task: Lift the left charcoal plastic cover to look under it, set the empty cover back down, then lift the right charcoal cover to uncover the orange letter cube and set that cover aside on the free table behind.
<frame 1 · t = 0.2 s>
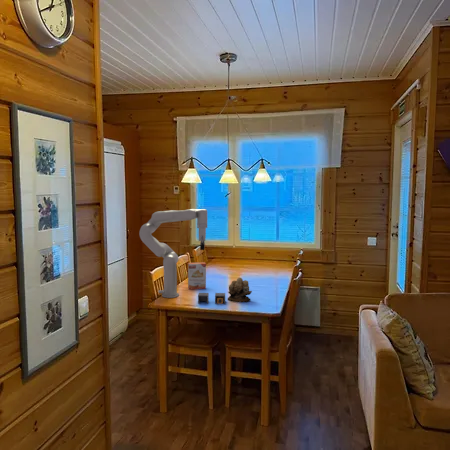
hand: (202, 248, 304), 36 cm above the table, tool pointing down, fingers open, 9 cm apart
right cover: (220, 302, 292), on the table
brown stone statue: (239, 300, 299), on the table
left cover: (203, 302, 292), on the table
letter cube: (220, 302, 292), on the table
cracker box: (197, 288, 331), on the table
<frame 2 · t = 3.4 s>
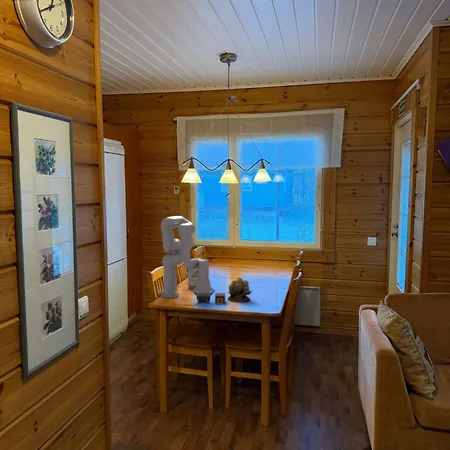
hand: (203, 301, 292), 1 cm above the table, tool pointing down, fingers closed on left cover, 7 cm apart
left cover: (203, 302, 292), on the table, touching gripper
everything else where it was.
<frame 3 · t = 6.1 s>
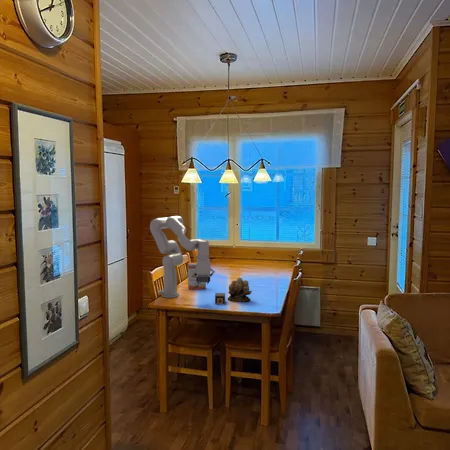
hand: (203, 282, 291), 15 cm above the table, tool pointing down, fingers closed on left cover, 7 cm apart
left cover: (203, 283, 291), point 14 cm above the table, touching gripper
everything else where it was.
when the fingers open (2 cm above the table, at t = 8.9 s): left cover drops 1 cm, on the table.
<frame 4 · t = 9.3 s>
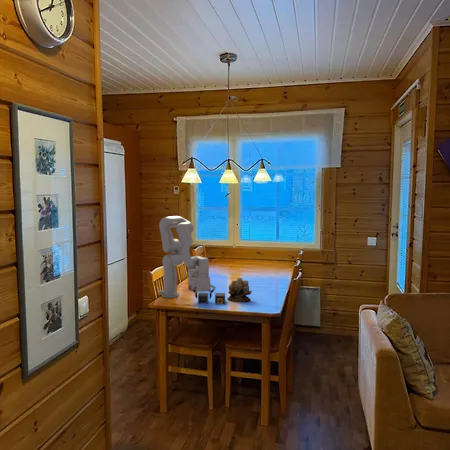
hand: (203, 298, 292), 3 cm above the table, tool pointing down, fingers open, 9 cm apart
left cover: (203, 302, 292), on the table
everything else where it was.
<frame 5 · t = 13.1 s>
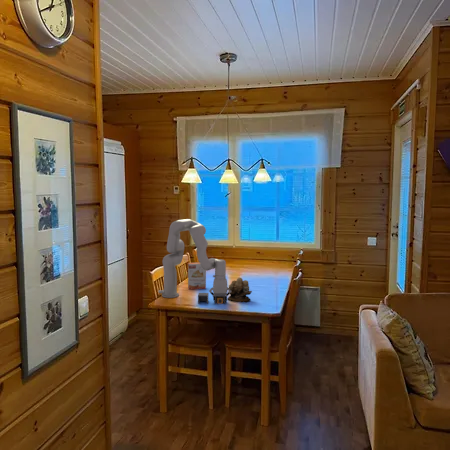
hand: (220, 301, 292), 1 cm above the table, tool pointing down, fingers closed on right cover, 7 cm apart
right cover: (220, 302, 292), on the table, touching gripper
everything else where it was.
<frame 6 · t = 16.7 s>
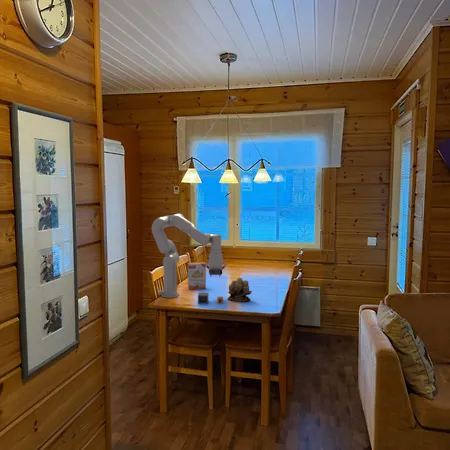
hand: (215, 274, 302), 17 cm above the table, tool pointing down, fingers closed on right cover, 7 cm apart
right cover: (215, 275, 302), point 17 cm above the table, touching gripper
everything else where it was.
when the fingers open (2 cm above the table, at t = 20.4 s): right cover drops 1 cm, on the table.
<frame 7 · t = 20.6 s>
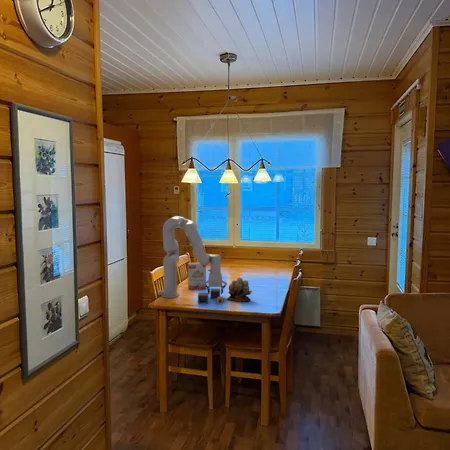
hand: (215, 293, 305), 3 cm above the table, tool pointing down, fingers open, 9 cm apart
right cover: (215, 297, 305), on the table
everything else where it was.
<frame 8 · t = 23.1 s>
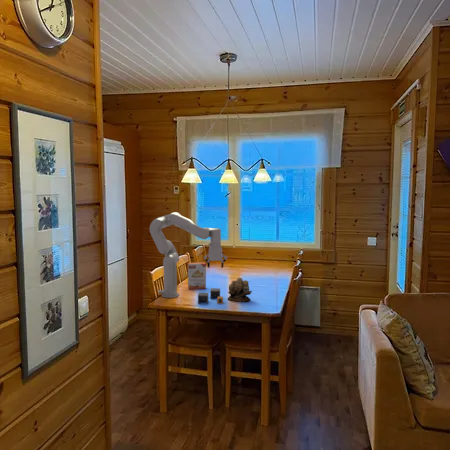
hand: (215, 267, 303), 22 cm above the table, tool pointing down, fingers open, 9 cm apart
nothing on the table moved.
at the end: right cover moved 13.6 cm from its start; left cover moved 0.1 cm from its start; letter cube moved 0.1 cm from its start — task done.
